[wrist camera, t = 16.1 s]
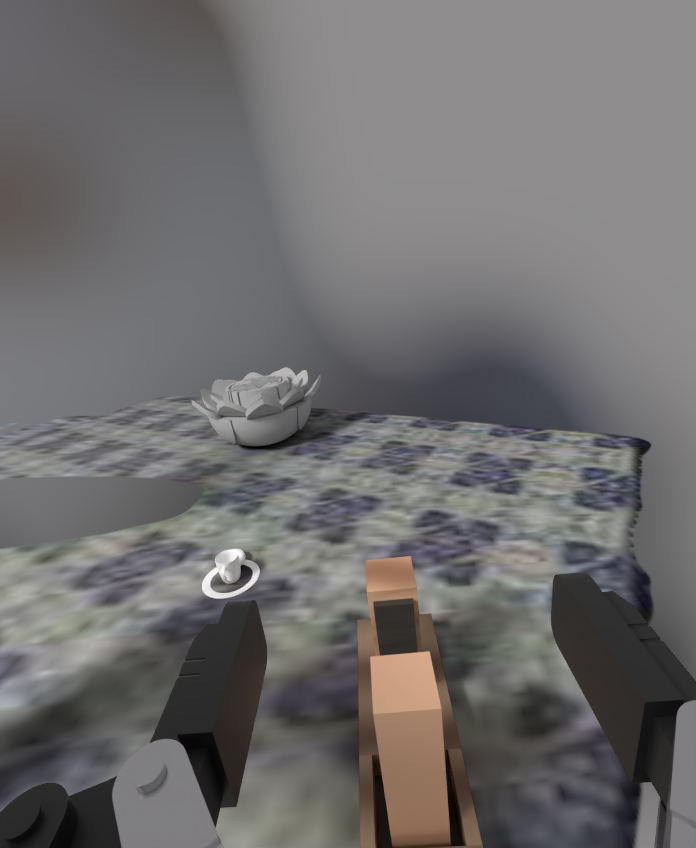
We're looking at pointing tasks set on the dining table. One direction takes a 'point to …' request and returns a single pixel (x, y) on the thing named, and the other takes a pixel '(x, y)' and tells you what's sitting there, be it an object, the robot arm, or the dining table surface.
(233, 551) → the teacup and saucer
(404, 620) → the rail
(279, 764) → the dining table surface
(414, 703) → the tall tan pillar block
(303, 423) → the decorative bowl
